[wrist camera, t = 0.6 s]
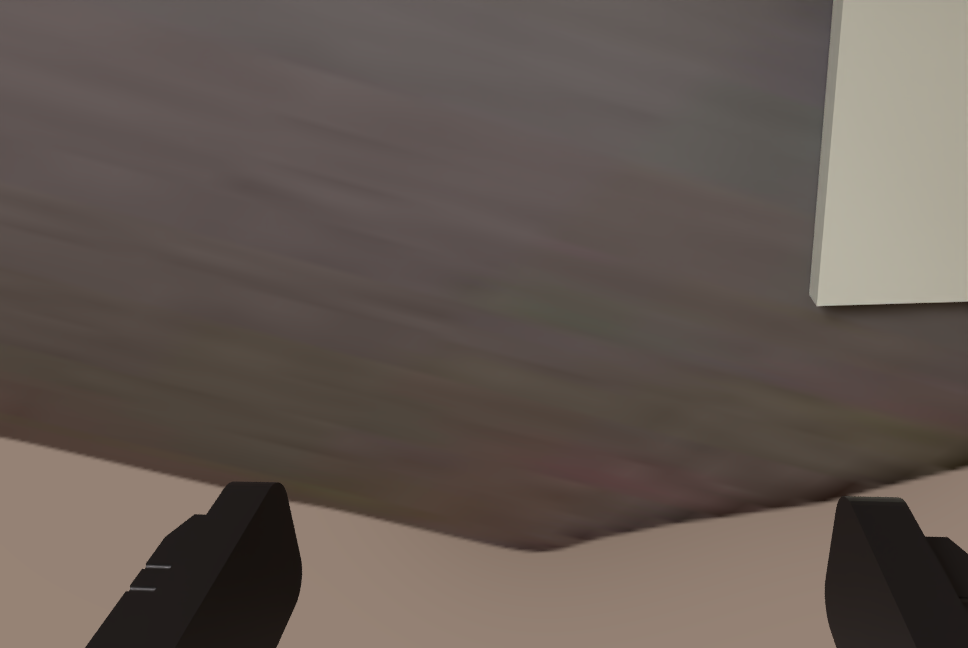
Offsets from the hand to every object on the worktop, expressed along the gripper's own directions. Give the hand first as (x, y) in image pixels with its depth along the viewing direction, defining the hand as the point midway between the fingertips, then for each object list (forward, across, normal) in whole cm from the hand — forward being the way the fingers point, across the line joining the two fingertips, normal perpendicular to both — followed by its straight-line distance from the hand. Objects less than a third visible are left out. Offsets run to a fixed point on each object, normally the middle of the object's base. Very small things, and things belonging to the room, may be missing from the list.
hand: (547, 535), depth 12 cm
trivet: (+29, -17, +1) cm, 33 cm away
